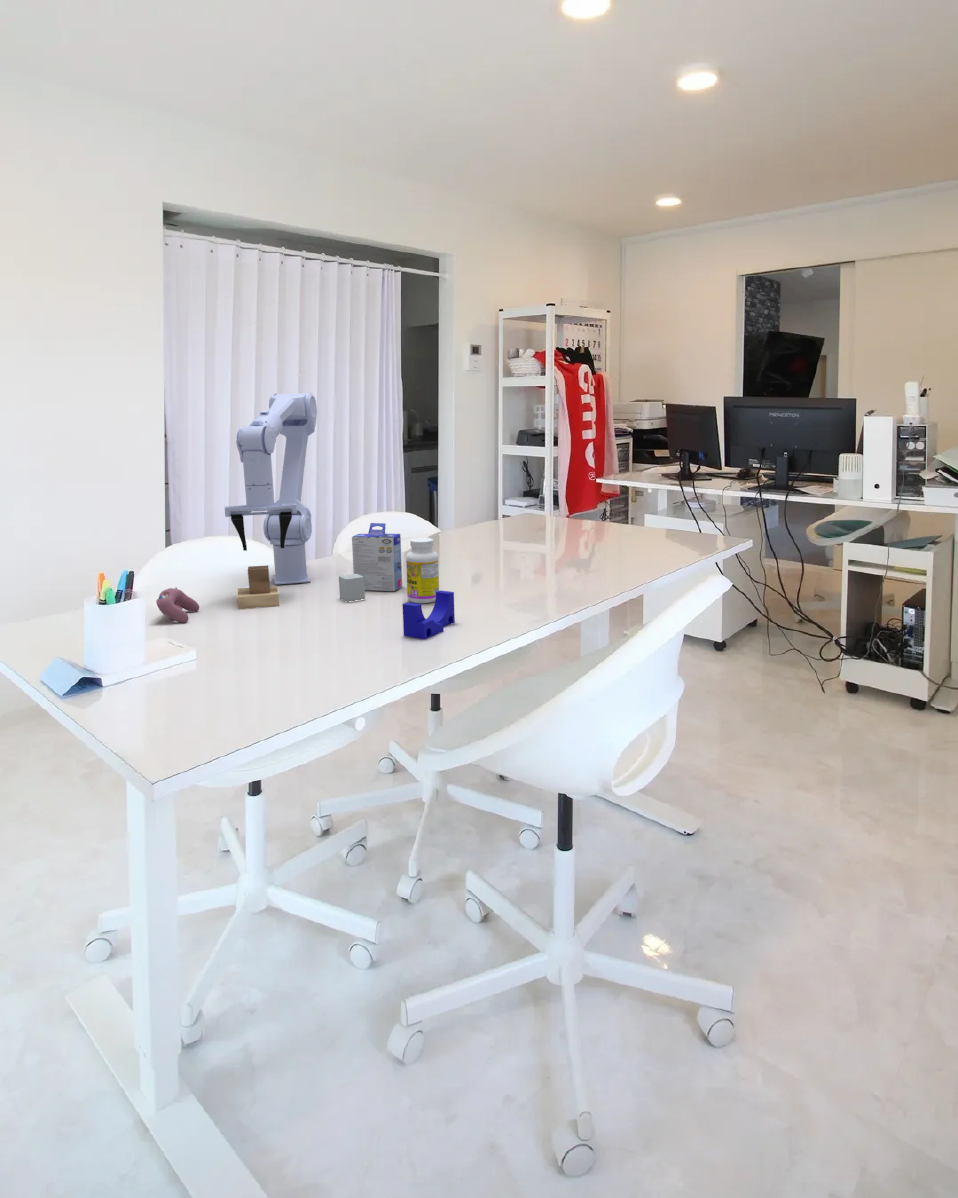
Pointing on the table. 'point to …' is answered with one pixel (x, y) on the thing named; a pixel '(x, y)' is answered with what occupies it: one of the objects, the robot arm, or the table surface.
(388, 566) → the ink cartridge box
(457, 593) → the table surface
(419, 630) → the blue cradle holder
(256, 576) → the walnut block
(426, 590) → the supplement bottle
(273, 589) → the oak slab
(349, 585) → the grey block
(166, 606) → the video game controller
